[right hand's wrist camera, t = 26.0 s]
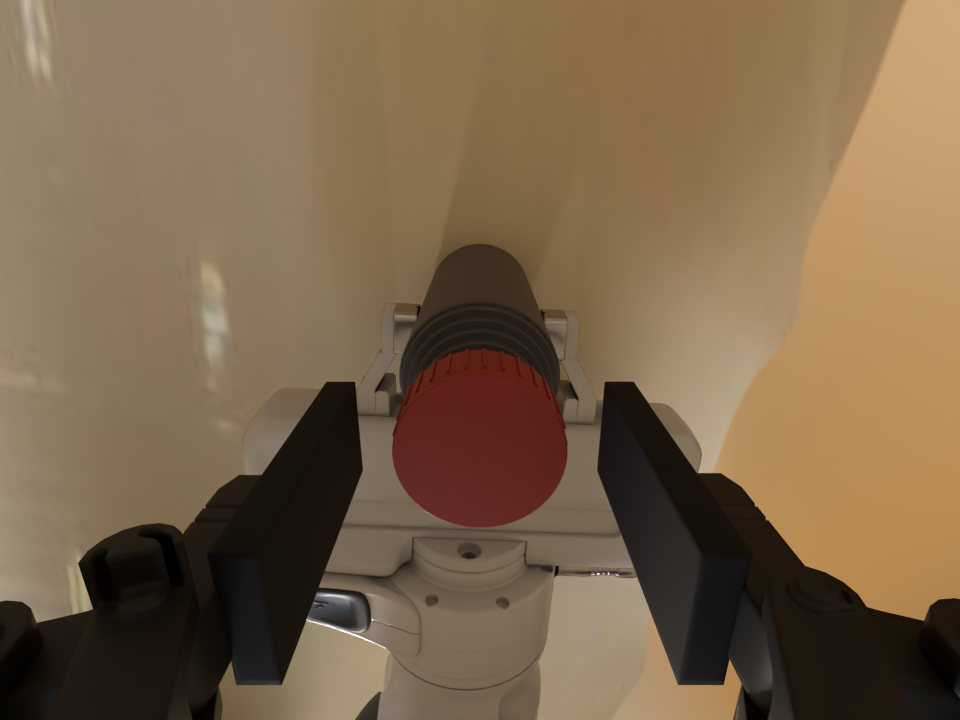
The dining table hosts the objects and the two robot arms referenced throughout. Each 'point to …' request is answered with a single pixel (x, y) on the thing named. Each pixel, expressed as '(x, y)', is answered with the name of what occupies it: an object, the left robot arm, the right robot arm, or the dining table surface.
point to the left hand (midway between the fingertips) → (479, 309)
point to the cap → (479, 439)
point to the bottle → (479, 315)
